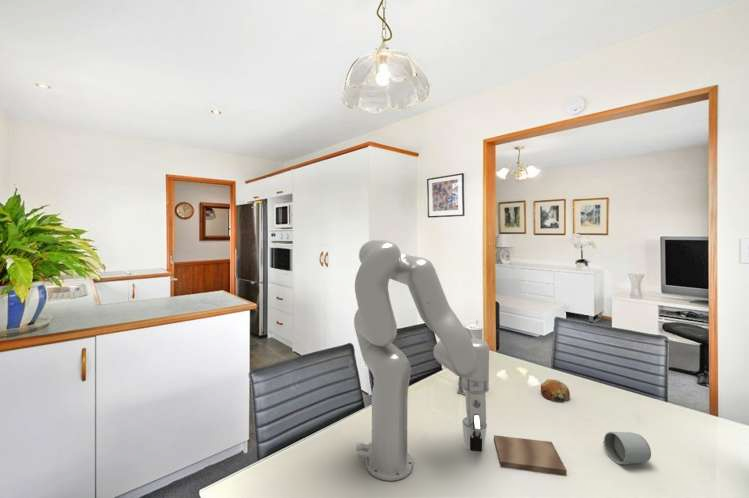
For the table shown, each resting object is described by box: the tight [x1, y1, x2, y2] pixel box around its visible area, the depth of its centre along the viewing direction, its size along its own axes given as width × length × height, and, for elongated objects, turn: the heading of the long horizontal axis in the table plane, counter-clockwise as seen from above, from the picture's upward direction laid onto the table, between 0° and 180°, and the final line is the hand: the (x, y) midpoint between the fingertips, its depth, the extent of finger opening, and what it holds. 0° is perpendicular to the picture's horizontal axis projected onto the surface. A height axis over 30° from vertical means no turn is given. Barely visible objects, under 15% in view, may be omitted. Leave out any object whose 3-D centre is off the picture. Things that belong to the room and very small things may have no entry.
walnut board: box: [493, 434, 568, 477], centre depth 93 cm, size 16×12×2 cm
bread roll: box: [540, 378, 571, 403], centre depth 129 cm, size 10×10×8 cm
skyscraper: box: [456, 319, 484, 397], centre depth 131 cm, size 8×8×28 cm
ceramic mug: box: [602, 431, 652, 465], centre depth 93 cm, size 11×8×8 cm
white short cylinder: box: [461, 416, 488, 453], centre depth 98 cm, size 7×7×7 cm
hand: (474, 440), depth 98 cm, fingers open, 9 cm apart
